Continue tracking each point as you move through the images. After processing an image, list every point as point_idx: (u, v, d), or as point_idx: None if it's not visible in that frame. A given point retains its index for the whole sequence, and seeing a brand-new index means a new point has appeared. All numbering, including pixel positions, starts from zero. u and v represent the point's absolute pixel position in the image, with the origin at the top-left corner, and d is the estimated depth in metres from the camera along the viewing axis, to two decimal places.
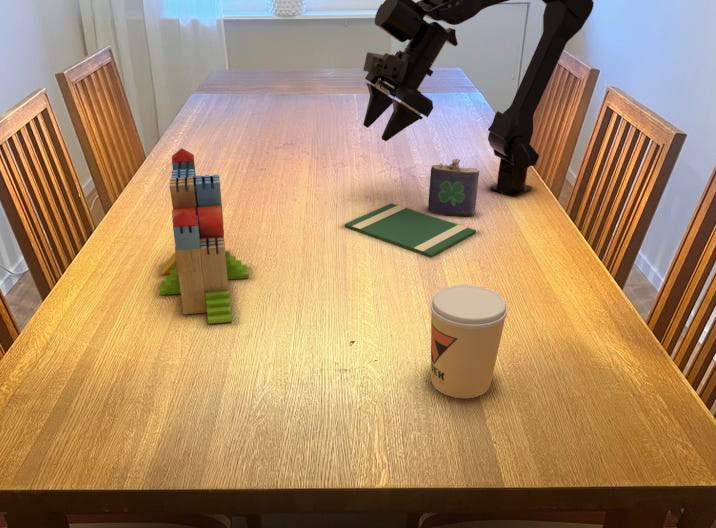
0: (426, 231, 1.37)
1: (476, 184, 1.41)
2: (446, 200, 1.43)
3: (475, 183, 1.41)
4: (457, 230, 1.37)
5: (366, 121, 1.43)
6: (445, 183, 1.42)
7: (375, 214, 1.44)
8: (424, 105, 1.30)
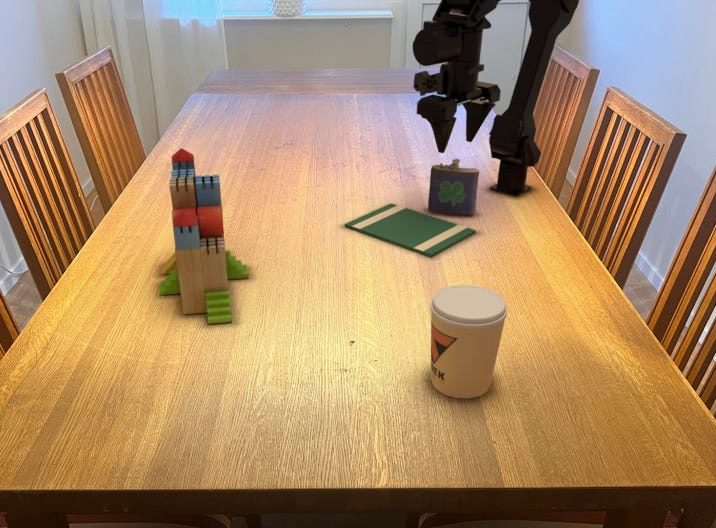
0: (426, 231, 1.37)
1: (476, 184, 1.41)
2: (446, 200, 1.43)
3: (475, 183, 1.41)
4: (457, 230, 1.37)
5: (467, 136, 1.41)
6: (445, 183, 1.42)
7: (375, 214, 1.44)
8: (433, 109, 1.28)
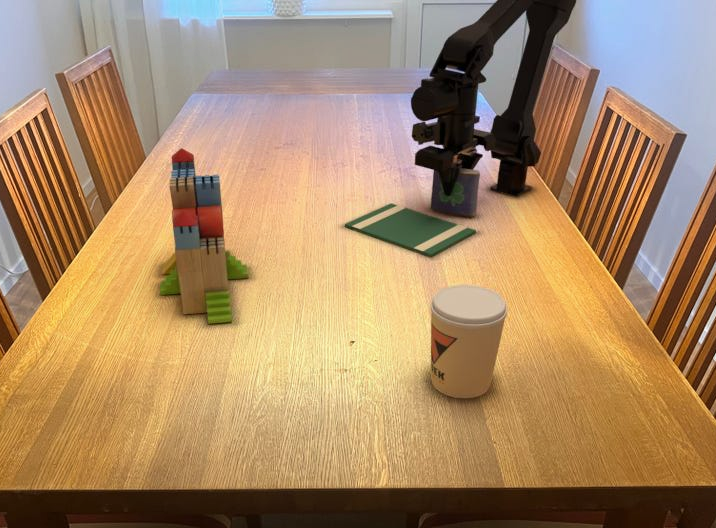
0: (426, 231, 1.37)
1: (476, 186, 1.40)
2: (447, 199, 1.43)
3: (475, 185, 1.40)
4: (457, 230, 1.37)
5: None
6: None
7: (375, 214, 1.44)
8: (431, 161, 1.33)
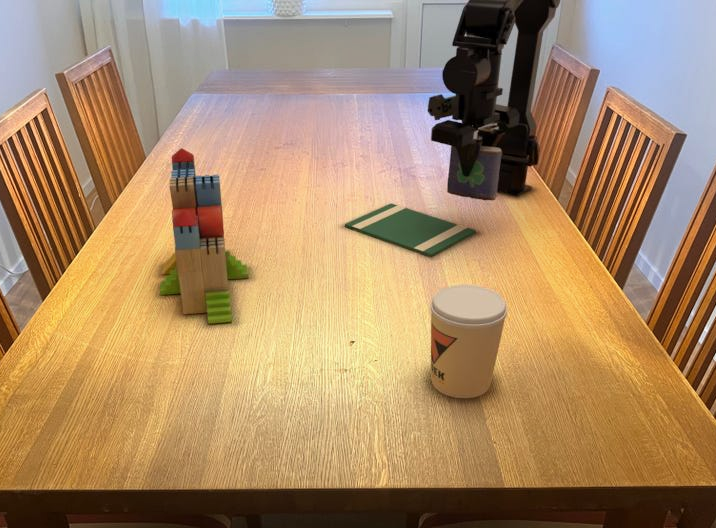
0: (426, 231, 1.37)
1: (497, 165, 1.29)
2: (465, 180, 1.32)
3: (496, 164, 1.28)
4: (457, 230, 1.37)
5: None
6: None
7: (375, 214, 1.44)
8: (449, 136, 1.21)
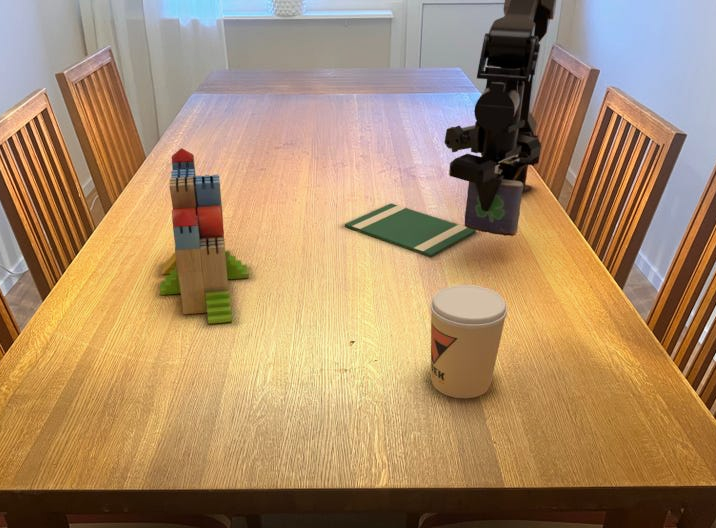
0: (426, 231, 1.37)
1: (519, 200, 1.22)
2: (484, 215, 1.25)
3: (517, 198, 1.21)
4: (457, 230, 1.37)
5: None
6: None
7: (375, 214, 1.44)
8: (469, 172, 1.14)
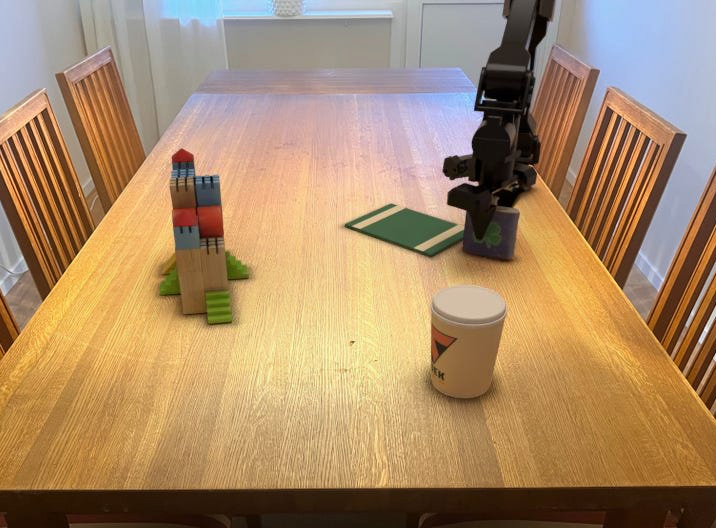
0: (426, 231, 1.37)
1: (515, 226, 1.24)
2: (481, 240, 1.28)
3: (514, 225, 1.24)
4: (457, 230, 1.37)
5: None
6: None
7: (375, 214, 1.44)
8: (466, 202, 1.17)
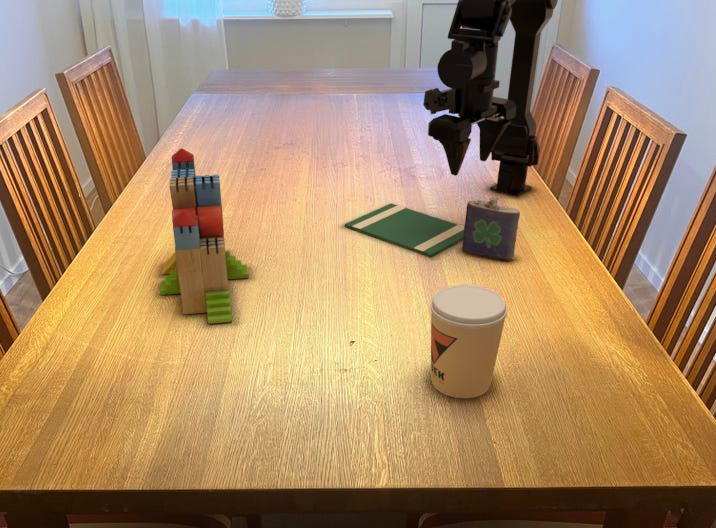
0: (426, 231, 1.37)
1: (515, 226, 1.24)
2: (481, 240, 1.28)
3: (514, 225, 1.24)
4: (457, 230, 1.37)
5: (480, 155, 1.33)
6: (481, 222, 1.26)
7: (375, 214, 1.44)
8: (447, 131, 1.19)
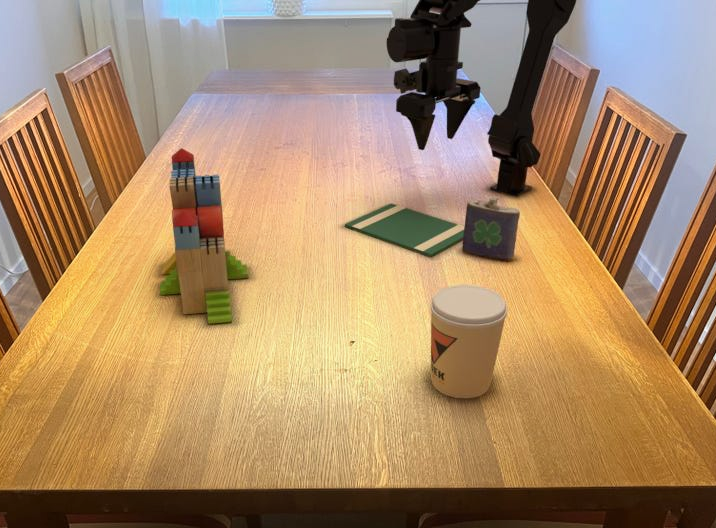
0: (426, 231, 1.37)
1: (515, 226, 1.24)
2: (481, 240, 1.28)
3: (514, 225, 1.24)
4: (457, 230, 1.37)
5: (447, 133, 1.43)
6: (480, 222, 1.26)
7: (375, 214, 1.44)
8: (412, 107, 1.29)
